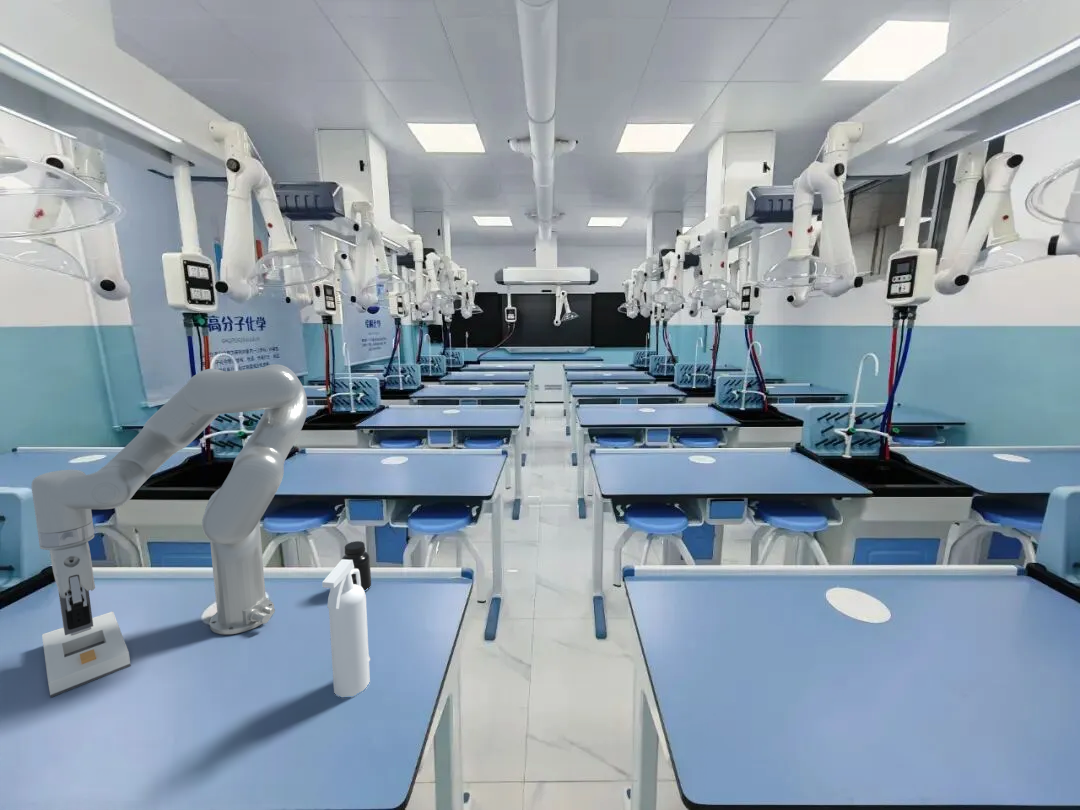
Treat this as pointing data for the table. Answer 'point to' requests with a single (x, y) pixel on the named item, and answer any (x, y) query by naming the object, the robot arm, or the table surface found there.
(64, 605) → the block
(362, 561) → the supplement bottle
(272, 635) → the table surface
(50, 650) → the switch panel
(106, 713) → the table surface
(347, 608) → the white spray bottle
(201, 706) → the table surface
